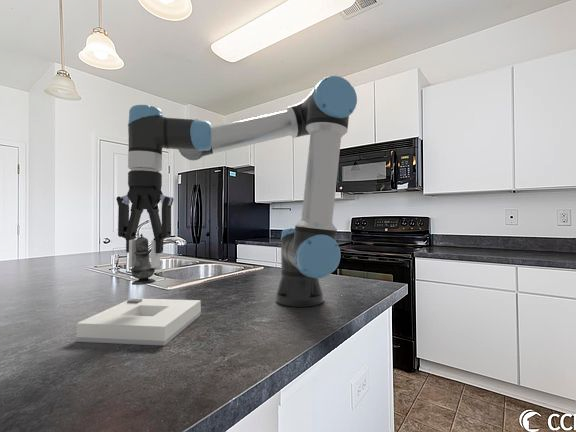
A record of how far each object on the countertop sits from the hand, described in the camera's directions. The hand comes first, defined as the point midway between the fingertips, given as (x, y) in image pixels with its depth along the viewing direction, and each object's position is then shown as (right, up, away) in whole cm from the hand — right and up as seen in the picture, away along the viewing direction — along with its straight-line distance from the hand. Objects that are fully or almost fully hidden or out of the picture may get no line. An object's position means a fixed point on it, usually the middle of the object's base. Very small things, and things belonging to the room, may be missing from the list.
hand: (144, 266), depth 76 cm
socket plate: (0, -15, 0) cm, 15 cm away
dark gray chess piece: (0, -4, 0) cm, 4 cm away
